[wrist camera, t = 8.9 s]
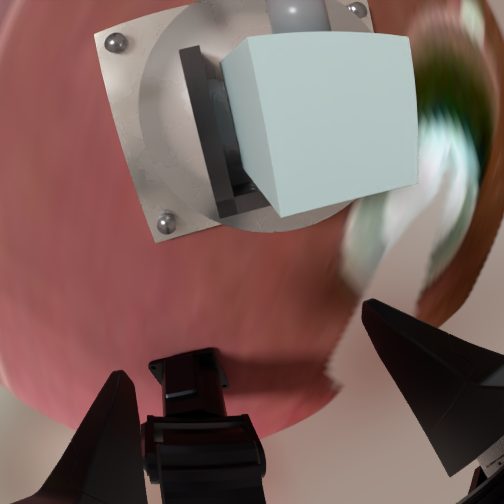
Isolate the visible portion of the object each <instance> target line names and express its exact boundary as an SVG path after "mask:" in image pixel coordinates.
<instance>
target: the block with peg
mask: <svg viewBox="0 0 504 504" xmlns="http://www.w3.org/2000/svg"><path fill="white" fill-rule="evenodd" d="M265 3H266V8H267V12H268V16H269V21H270V25H271V30H272V34H269V35H260V36H252V37H247V38H246V39H244V40H243V41H242V42H241V43H240V44H239V45H238V46H237V47H235V48H234V49H233V50H232V51H231V52H230V53H229V54H228V55H227V56H226V57H225V58H224V59H223V60H221V61H220V62H219V64H220V68H221V73H222V77H223V82H224V86H225V91H226V96H227V100H228V105H229V109H230V114H231V119H232V123H233V128H234V132H235V137H236V142H237V146H238V151H239V156H240V160H241V165H242V167H243V169H244V170H245V171H246V172H247V174H248V175H249V176H250V178H251V179H252V180H253V182H254V183H255V184H256V185H257V187H258V188H259V189H260V191H261V192H262V193H263V195H264V196H265V197H266V198H267V200H268V201H269V202H270V204H271V205H272V206H273V208H274V209H275V210H276V212H277V213H278V214H279V216H280V217H281V218H282V217H285V216H289V215H293V214H297V213H301V212H304V211H308V210H312V209H316V208H320V207H324V206H328V205H332V204H336V203H340V202H344V201H348V200H352V199H356V198H360V197H364V196H368V195H372V194H376V193H381V192H385V191H389V190H393V189H397V188H402V187H406V186H410V185H414V184H418V121H417V104H416V91H415V81H414V72H413V64H412V57H411V50H410V44H409V38H408V37H405V36H397V35H389V34H378V33H364V32H338V31H332V30H331V26H330V21H329V16H328V12H327V8H326V4H325V0H265Z"/></svg>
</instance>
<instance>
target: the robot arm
mask: <svg viewBox="0 0 504 504" xmlns="http://www.w3.org/2000/svg"><path fill="white" fill-rule="evenodd" d="M362 322H363V325H364V327H365V329H366V331H367V333H368V335H369V337H370V339H371V341H372V343H373V345H374V347H375V349H376V351H377V353H378V355H379V357H380V359H381V360H382V362H383V363H384V365H385V367H386V368H387V370H388V372H389V373H390V375H391V376H392V378H393V380H394V381H395V383H396V384H397V386H398V388H399V389H400V391H401V392H402V394H403V396H404V398H405V399H406V401H407V403H408V404H409V406H410V407H411V409H412V411H413V413H414V415H415V416H416V418H417V420H418V421H419V423H420V425H421V427H422V428H423V430H424V432H425V434H426V435H427V437H428V439H429V441H430V443H431V444H432V446H433V448H434V450H435V452H436V454H437V455H438V457H439V459H440V460H441V463H442V464H443V466H444V468H445V470H446V472H447V474H448V476H449V477H451V476H453V475H454V474H456V473H457V472H459V471H460V470H462V469H463V468H464V467H465V466H467V465H468V464H470V463H471V462H472V461H474V460H475V459H477V460H478V462H479V464H480V466H479V467H477V468H476V469H475V471H474V475H473V478H472V482H471V486H470V489H469V493H468V495H467V496H466V497H464V498H463V499H462V500H460V501H459V502H458V503H456V504H504V355H502V354H499V353H496V352H494V351H491V350H488V349H485V348H482V347H479V346H477V345H474V344H471V343H469V342H467V341H464V340H462V339H460V338H457V337H455V336H453V335H451V334H448V333H447V332H445V331H442V330H440V329H438V328H436V327H434V326H432V325H430V324H428V323H426V322H423V321H421V320H419V319H417V318H415V317H413V316H411V315H408V314H406V313H404V312H402V311H400V310H398V309H396V308H393V307H391V306H389V305H387V304H385V303H383V302H381V301H378V300H376V299H373V298H372V299H369V300H367V301H364V302H363V304H362ZM148 368H149V370H150V371H151V372H152V374H153V375H154V377H155V378H156V379H157V381H158V382H159V383H160V384H161V386H162V402H163V417H156V416H153V415H147V422H145V423H143V424H141V430H140V420H139V413H138V406H137V400H136V392H135V386H134V384H133V382H132V380H131V379H130V378H129V377H128V375H127V374H126V373H125V372H124V371H123V370H117V371H113V372H112V373H111V375H110V376H109V378H108V379H107V381H106V383H105V384H104V386H103V387H102V389H101V391H100V392H99V394H98V396H97V397H96V399H95V401H94V402H93V404H92V406H91V407H90V409H89V411H88V412H87V414H86V416H85V417H84V419H83V421H82V422H81V424H80V426H79V428H78V429H77V431H76V433H75V435H74V436H73V438H72V440H71V442H70V443H69V445H68V447H67V449H66V450H65V452H64V454H63V456H62V457H61V459H60V460H59V462H58V463H57V465H56V466H55V468H54V469H53V471H52V472H51V474H50V475H49V477H48V478H47V480H46V481H45V483H44V484H43V485H42V487H41V488H40V489H39V490H38V492H36V493H35V494H34V495H32V496H30V497H27V498H25V499H22V500H19V501H17V502H14V503H11V504H148V502H147V495H146V488H145V479H144V470H145V471H146V472H147V476H149V477H150V482H151V484H160V489H161V497H162V504H266V501H265V497H264V491H263V486H262V478H263V477H264V476H265V473H266V458H265V453H264V450H263V447H262V444H261V442H260V440H259V438H258V435H257V433H256V431H255V429H254V427H253V424H252V422H251V420H250V418H249V415H248V414H242V415H239V416H227V412H226V407H225V402H224V397H223V392H222V389H225V388H228V387H229V382H228V380H227V378H226V376H225V374H224V371H223V369H222V367H221V365H220V363H219V361H218V358H217V356H216V354H215V352H214V350H213V349H210V348H209V349H204V350H200V351H196V352H192V353H188V354H183V355H179V356H175V357H170V358H166V359H161V360H157V361H152V362H150V363H149V365H148Z"/></svg>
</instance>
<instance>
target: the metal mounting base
mask: <svg viewBox="0 0 504 504" xmlns="http://www.w3.org/2000/svg"><path fill="white" fill-rule="evenodd" d="M325 4H326V8H327V12H328V16H329V21H330V26H331V30H332V31H338V32H364V33H374V31H373V26H372V21H371V16H370V12H369V7H368V3H367V0H325ZM269 34H272V30H271V25H270V21H269V16H268V12H267V8H266V3H265V0H197V1H196V2H194V3H193V4H191V5H186V6H181V7H177V8H173V9H169V10H165V11H161V12H157V13H154V14H150V15H147V16H144V17H140V18H137V19H134V20H131V21H128V22H125V23H122V24H119V25H117V26H114V27H111V28H109V29H106V30H103V31H101V32H98V33H96V34H94V37H95V42H96V47H97V52H98V57H99V61H100V66H101V70H102V75H103V79H104V83H105V87H106V91H107V95H108V99H109V103H110V107H111V110H112V114H113V118H114V121H115V125H116V128H117V132H118V135H119V139H120V142H121V145H122V149H123V152H124V155H125V158H126V161H127V164H128V168H129V171H130V174H131V177H132V180H133V183H134V186H135V189H136V191H137V194H138V197H139V200H140V203H141V206H142V209H143V211H144V214H145V217H146V219H147V222H148V225H149V227H150V230H151V233H152V235H153V238H154V241H155V243H158V242H161V241H165V240H168V239H171V238H175V237H178V236H182V235H185V234H189V233H192V232H196V231H199V230H203V229H206V228H210V227H213V226H217V225H221V224H223V225H226V226H229V227H233V228H236V229H240V230H247V231H253V232H282V231H290V230H295V229H300V228H304V227H307V226H310V225H313V224H316V223H318V222H320V221H322V220H324V219H327V218H329V217H331V216H332V215H334V214H336V213H337V212H339V211H340V210H342V209H344V208H345V207H346V206H347V205H349V204H350V203H351V202H352V201H354V200H355V199H352V200H348V201H344V202H340V203H336V204H332V205H328V206H324V207H320V208H316V209H312V210H308V211H304V212H301V213H297V214H293V215H289V216H285V217H282V218H281V217H280V216H279V214H278V213H277V212H276V210H275V209H274V208H273V206H272V205H271V204H270V202H269V201H268V200H267V198H266V197H265V196H264V195H263V193H262V192H261V191H260V189H259V188H258V187H257V185H256V184H255V183H254V182H253V180H252V179H251V178H250V176H249V175H248V174H247V172H246V171H245V170H244V169H243V167H242V165H241V160H240V156H239V151H238V146H237V142H236V137H235V132H234V128H233V123H232V119H231V114H230V109H229V105H228V100H227V96H226V91H225V86H224V82H223V77H222V73H221V68H220V64H219V62H220V61H221V60H223V59H224V58H225V57H226V56H227V55H228V54H229V53H230V52H231V51H232V50H233V49H234V48H235V47H237V46H238V45H239V44H240V43H241V42H242V41H243V40H244V39H246V38H247V37H252V36H260V35H269Z"/></svg>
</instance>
